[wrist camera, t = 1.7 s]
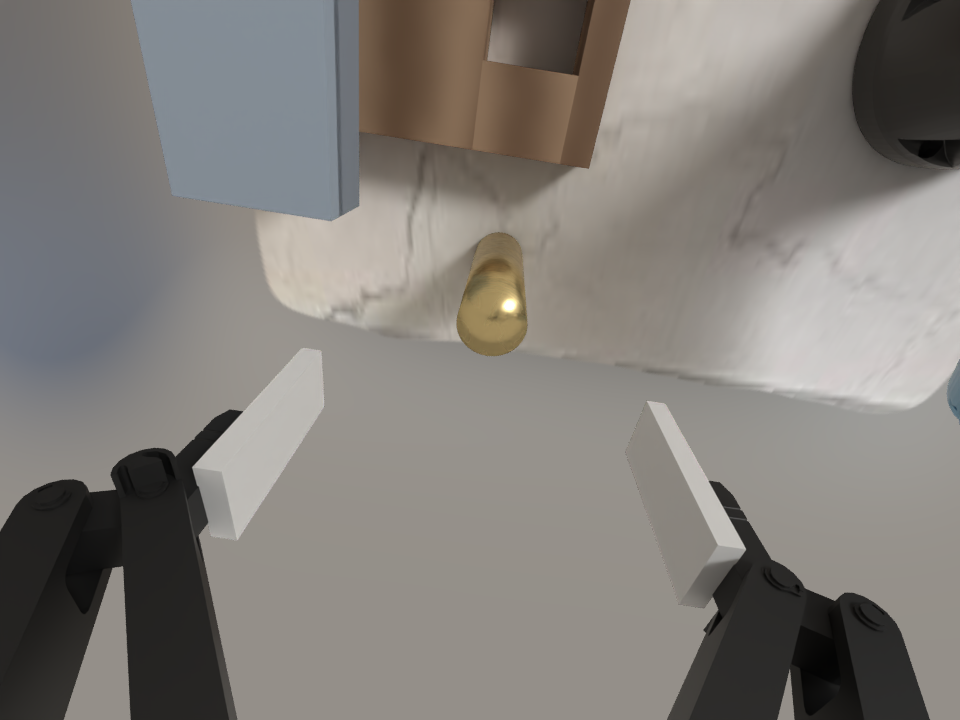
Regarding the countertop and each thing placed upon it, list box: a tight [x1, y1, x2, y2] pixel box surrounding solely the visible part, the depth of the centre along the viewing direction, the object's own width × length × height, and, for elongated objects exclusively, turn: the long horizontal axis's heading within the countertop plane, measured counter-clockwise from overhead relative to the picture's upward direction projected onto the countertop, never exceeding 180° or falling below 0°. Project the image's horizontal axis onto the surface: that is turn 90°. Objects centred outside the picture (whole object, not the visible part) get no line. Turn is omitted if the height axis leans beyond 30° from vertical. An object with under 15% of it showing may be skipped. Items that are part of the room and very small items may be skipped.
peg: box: [457, 232, 527, 356], centre depth 30 cm, size 4×4×14 cm
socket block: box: [359, 0, 631, 169], centre depth 26 cm, size 18×16×4 cm
